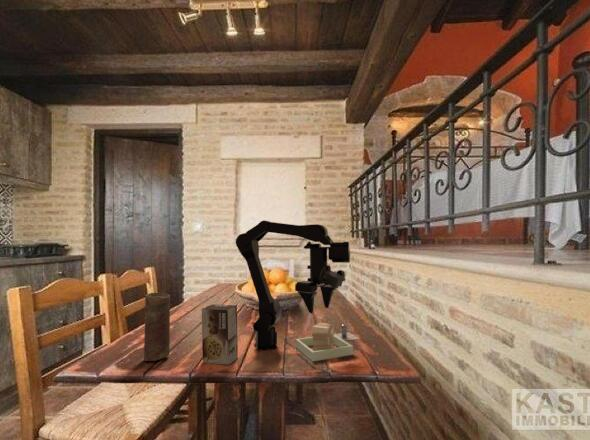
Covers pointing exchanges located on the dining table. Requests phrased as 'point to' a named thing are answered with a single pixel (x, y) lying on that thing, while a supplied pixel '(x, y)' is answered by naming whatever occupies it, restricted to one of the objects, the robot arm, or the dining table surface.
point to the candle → (157, 326)
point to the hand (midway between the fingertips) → (319, 310)
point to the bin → (342, 350)
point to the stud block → (345, 334)
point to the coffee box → (219, 334)
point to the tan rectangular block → (323, 336)
